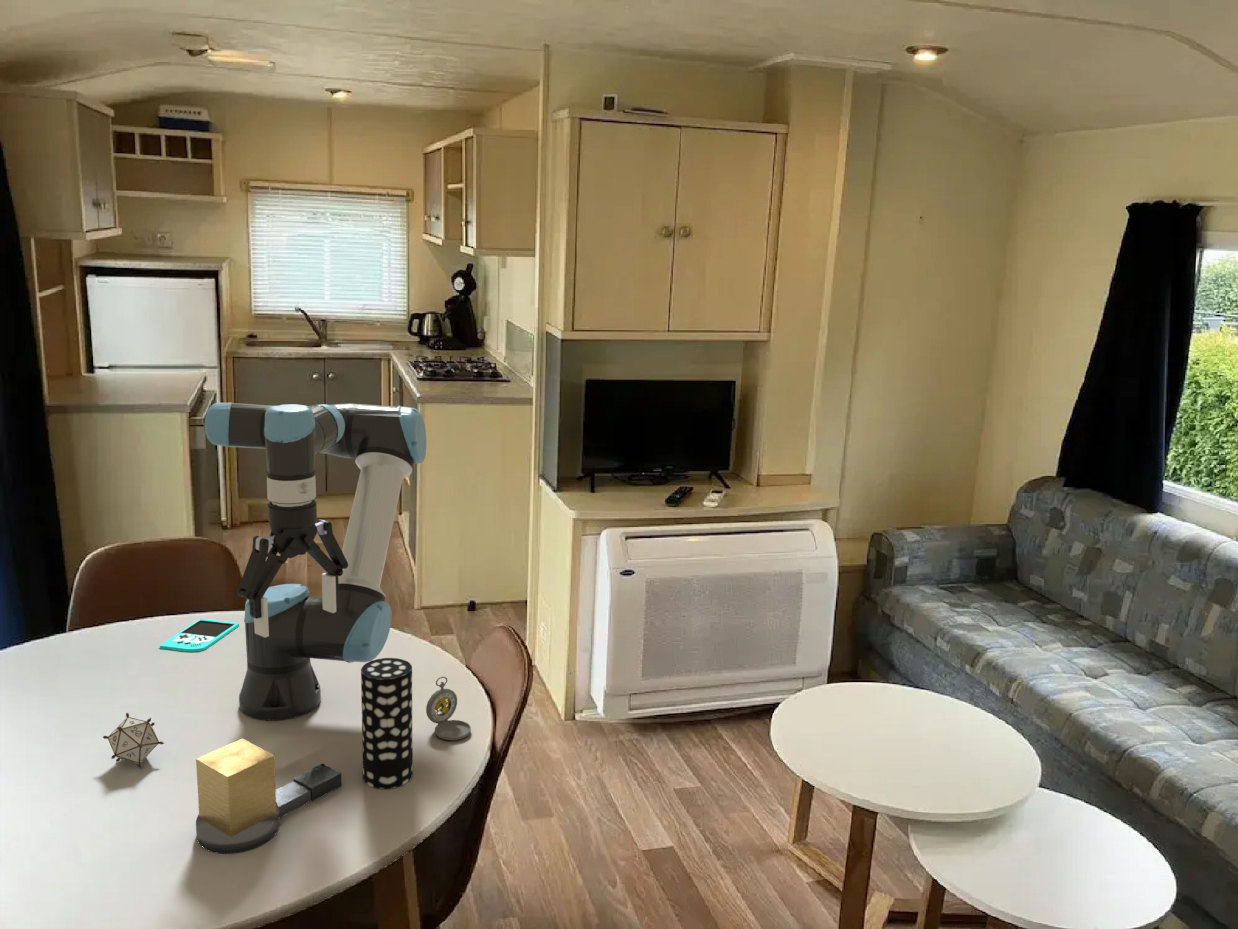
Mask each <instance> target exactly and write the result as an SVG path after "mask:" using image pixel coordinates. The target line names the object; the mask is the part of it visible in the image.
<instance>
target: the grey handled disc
mask: <svg viewBox="0 0 1238 929" xmlns="http://www.w3.org/2000/svg"><path fill="white" fill-rule="evenodd" d="M292 780H293V781H291V782H288V783H287V784H285V785H283V786H280V787H279V788H276V814H274V815H272V816H270V817H268V818H267V819H265V820H263V821H261V822H259V823H257V824H255V825H253V826H251V827H249V828H248V829H246V830H244V831H242V832H240V833H238V834H236V835H234V836H232V837H230V836H228V835H226V834H225V833H223V832H222V831H220V830H218V829H217V828H215V827H214V826H212V825H210V824H209V823H207V822H206V821H204V820H202V819H201V818H199V814H198V815H197V817H196V819H195V829H196V830H195V831H196V832H195V833H196V841H197V840H198V841H197V843H198V842H199V843H198V845H199V844H200V845H201V846H203V847H204V848H205V849H204V848H203V847H202V848H203V849H204V850H206V849H207V850H206V851H208V850H209V851H208V852H211V851H212V852H211V853H215V852H218V853H217V854H222V855H223V854H224V853H225V854H227V853H228V854H229V855H230V853H231V854H238V853H239V854H240V853H244V852H248V851H250V850H254V849H256V848H259V847H261V846H264V845H265V844H266V843H267V842H269V841H270V840H272V838H274V837H275V836H276V835H277V833H278V831H279V829H280V825H281V824H280V819H281V818H282V817H284V816H286V815H288V814H290V813H291V812H294V811H295V810H297V809H299V808H301V807H303V806H305V805H306V803H307V804H308V803H311V802H314V801H316V800H318V799H319V798H321V797H324V796H326V795H327V794H329V793H331V792H333V791H335V790H336V789H338V788H340V787H342V786H343V785H342V783H343V782H342V772H340V771H339V770H336V769H335V768H332V767H330V766H328V765H326V764H324V763H320V764H319V765H316V766H315V767H313V768H311V769H308V770H307V771H305V772H303V773H300V774H299V775H297V776H295V777H293V778H292ZM304 804H305V805H304ZM200 845H199V846H200ZM201 846H200V847H201ZM225 854H224V855H225Z"/></svg>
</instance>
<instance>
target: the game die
mask: <svg viewBox="0 0 1238 929" xmlns="http://www.w3.org/2000/svg"><path fill="white" fill-rule="evenodd" d="M125 717H126V718H125V719H124V720H122V722H121V723H120V724H118V726H117V727H116V728H115V729H114V730H113V731H112V732H111V733H110V734H109V735H103V736H102V739H105V740H106V739H107V740H108V742H109V746H110V748H111V750H112V751H113V754H112V755H111V758H110V759H111V760H113V759H115V758H116V760H115V762H116V763H119V762H120V761H121V760H123V761H127V762H131V763H135V764H137V767H138V768H139V769H141V768H142V762H143V761H144V760H145V758H147V756H148V755H149V754H151V752H153V750H154V749H156V747H157V746H158V745H163V744H165V742H164V741H160V740H159V738H158V737H157V734H156V732H155V730H154V728H153V727H154V726H155V723H156V722H151V721H152V718H147V720H143V719H138V718H135V717H134V718H133V717H132V716H131V717H130V713H129V712H126V713H125ZM150 722H151V723H150Z"/></svg>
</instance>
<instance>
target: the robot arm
mask: <svg viewBox="0 0 1238 929" xmlns="http://www.w3.org/2000/svg"><path fill="white" fill-rule="evenodd" d="M204 421H205V422H204V432H205V433H204V434H205V436H206V439H207V440H208V441H209V442H210V444H212V445H214V446H219V447H220V446H221V447H226V448H245V449H246V448H247V449H261V450H262V449H265V458H266V489H267V490H266V494H267V500H269V501H270V502H269V503H268V504H267V511H268V512H267V513H268V524H269V526H270V533H269V535H268V536H262V537H261V536H259V535H256V536H254V537H253V539H252V550H251V552H250V553H251V554H250V555H249V558H248V561H247V563H246V567H245V570H244V572H243V574H242V578H241V580H240V583H239V586H238V588H237V591H236V595H237V596H238V597H241V598H243V599H246V601H245V606H244V618H243V623H244V629H245V630H244V632H245V650H246V666H247V667H246V668H247V669H246V673H245V676H244V680H243V682H242V685H241V689H240V691H239V694H238V703H239V704H238V705H239V710H240V712H241V713H242V715H245V716H247V717H248V718H252V719H256V720H261V721H281V720H287V719H292V718H296V717H297V718H298V717H299V716H302V715H305V714H308V713H309V712H311V711H313V710H314V709H315V708H317V707H318V705H319V704H320V703H321V700H322V696H321V695H322V694H321V693H322V691H321V685H320V683H319V680H318V677H317V674H316V673H315V670H314V668H313V666H312V663H311V659H314V660H315V659H317V660H326V661H327V660H328V661H336V662H337V661H338V662H346V663H349V664H350V663H351V664H352V663H368V662H370V661H373V660H376V658H377V657H378V656H379V655H380V654H381V652H382V651H383V649H384V646H385V645H386V643H387V640H388V638H389V633H390V630H391V625H392V623H391V622H392V609H391V606H390V605H389V603H387V602H386V594H385V593H384V591H383V590H382V589H381V582H382V577H383V574H384V573H383V572H384V568H385V563H386V558H387V555H388V550H389V544H390V540H391V535H392V530H393V526H394V521H395V517H396V514H397V507H398V502H399V498H400V494H401V489H402V488H401V487H402V483H403V480H404V479H405V478H407V477H409V476H410V475H411V474H412V473H413V470H414V469H413V468H414V464H416V465H418V464H422V463H423V462H424V459H425V458H426V454H427V431H426V425H425V421H424V418H423V415H422V413H421V411H419V410H418V409H416V408H415V407H410V406H409V407H407V406H402V405H400V404H399V405H397V406H396V405H381V404H380V405H379V404H365V403H356V402H355V403H353V402H351V403H350V402H349V403H348V402H347V403H335V404H334V403H333V404H324V403H323V404H322V403H321V404H314V405H309V406H308V405H303V404H295V403H294V404H293V403H291V404H288V403H287V404H286V403H285V404H280V405H270V404H269V405H266V404H265V405H264V404H253V403H240V402H239V403H238V402H237V403H235V402H232V401H231V402H230V401H228V402H215V403H214V404H212V405H210V407H209V408H208V410H207V411H206V414H205V418H204ZM318 454H325V455H329V456H334V457H339V458H345V459H353V460H354V459H355V461H354V463H355V464H356V466H357V467H358V469H359V470H360V471H359V472H360V473H359V476H358V481H357V485H356V489H355V493H354V494H355V495H354V498H353V502H352V506H351V509H350V510H351V511H350V514H349V515H350V516H349V519H348V523H347V528H346V533H345V537H344V541H343V545H342V548H341V546H340V544H339V543H338V541H337V538H336V537H335V535H334V532H333V526H332V525H333V524H332V522H331V521H329V520H324V519H322V518H321V519H320V518H319V519H318V513H317V512H318V510H317V501H316V500H315V498H317V484H316V455H318ZM317 535H318V536H319V538H320V541H321V542H322V545H323V547H324V548H325V551H327V552H326V553H327V554H328V555H327V554H326V553H325V552H324V551H323V550H322V549H321V547H320V546H319V545H318V543H317V542H316V541H315V538H316V536H317ZM307 553H308V554H309V555H310V556H311V558H312V559H314V561H316V562H317V563H318V565H320V567H321V568H322V569H323V570H324V571H325V572H323V573H321V596H310V591H309V588H308V586H306V585H303V584H301V583H285V584H284V583H283V584H277V585H272V582H273V581H274V578H275V577H276V575H277V573H278V572H279V570H280V569H281V566H282V565H283V564H285V563H287V561H288V559H292V558H295V557H297V556H303V555H306V554H307ZM277 554H278V555H277ZM326 572H327V573H326ZM271 585H272V586H271Z"/></svg>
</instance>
